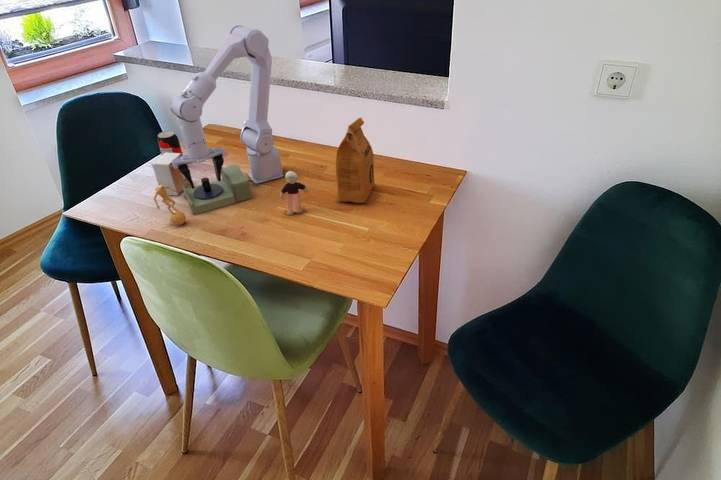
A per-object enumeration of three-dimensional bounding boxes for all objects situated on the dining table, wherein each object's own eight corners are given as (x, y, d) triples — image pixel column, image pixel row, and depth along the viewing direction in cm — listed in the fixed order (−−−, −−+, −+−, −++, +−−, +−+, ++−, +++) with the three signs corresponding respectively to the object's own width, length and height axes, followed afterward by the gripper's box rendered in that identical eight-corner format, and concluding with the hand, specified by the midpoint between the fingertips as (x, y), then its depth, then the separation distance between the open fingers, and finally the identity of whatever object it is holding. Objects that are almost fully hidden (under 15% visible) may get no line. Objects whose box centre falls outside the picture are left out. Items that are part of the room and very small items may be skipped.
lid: (218, 182, 146) (215, 169, 143) (226, 194, 140) (223, 181, 137) (190, 190, 142) (186, 177, 140) (197, 202, 136) (193, 189, 134)
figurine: (176, 233, 129) (163, 195, 121) (157, 230, 130) (144, 191, 123) (194, 217, 135) (183, 179, 128) (176, 213, 137) (164, 176, 129)
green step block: (239, 181, 151) (236, 164, 147) (251, 198, 142) (248, 180, 139) (185, 196, 145) (180, 178, 141) (194, 214, 136) (189, 196, 132)
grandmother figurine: (286, 218, 132) (279, 178, 125) (281, 212, 135) (274, 172, 128) (311, 210, 135) (307, 170, 128) (306, 204, 138) (301, 165, 131)
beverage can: (189, 165, 161) (180, 132, 154) (174, 173, 157) (164, 139, 150) (177, 161, 164) (167, 128, 157) (162, 169, 159) (151, 135, 152)
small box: (177, 196, 145) (168, 164, 138) (161, 195, 146) (150, 163, 139) (190, 183, 151) (181, 152, 145) (174, 182, 152) (165, 151, 146)
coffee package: (380, 186, 145) (378, 117, 132) (365, 207, 135) (362, 135, 122) (349, 182, 148) (345, 113, 135) (333, 202, 138) (327, 130, 126)
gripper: (170, 151, 126) (183, 196, 134) (224, 138, 131) (234, 182, 139) (165, 142, 131) (178, 185, 139) (217, 130, 136) (227, 172, 144)
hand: (205, 183), depth 139 cm, fingers open, 7 cm apart
